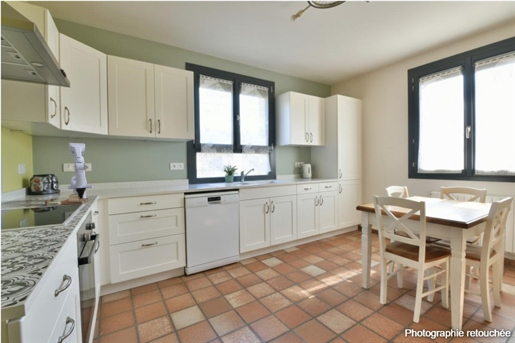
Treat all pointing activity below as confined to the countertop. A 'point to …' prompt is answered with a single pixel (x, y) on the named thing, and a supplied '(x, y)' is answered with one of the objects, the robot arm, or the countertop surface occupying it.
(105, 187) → the countertop surface
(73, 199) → the maple block
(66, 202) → the trap deck
